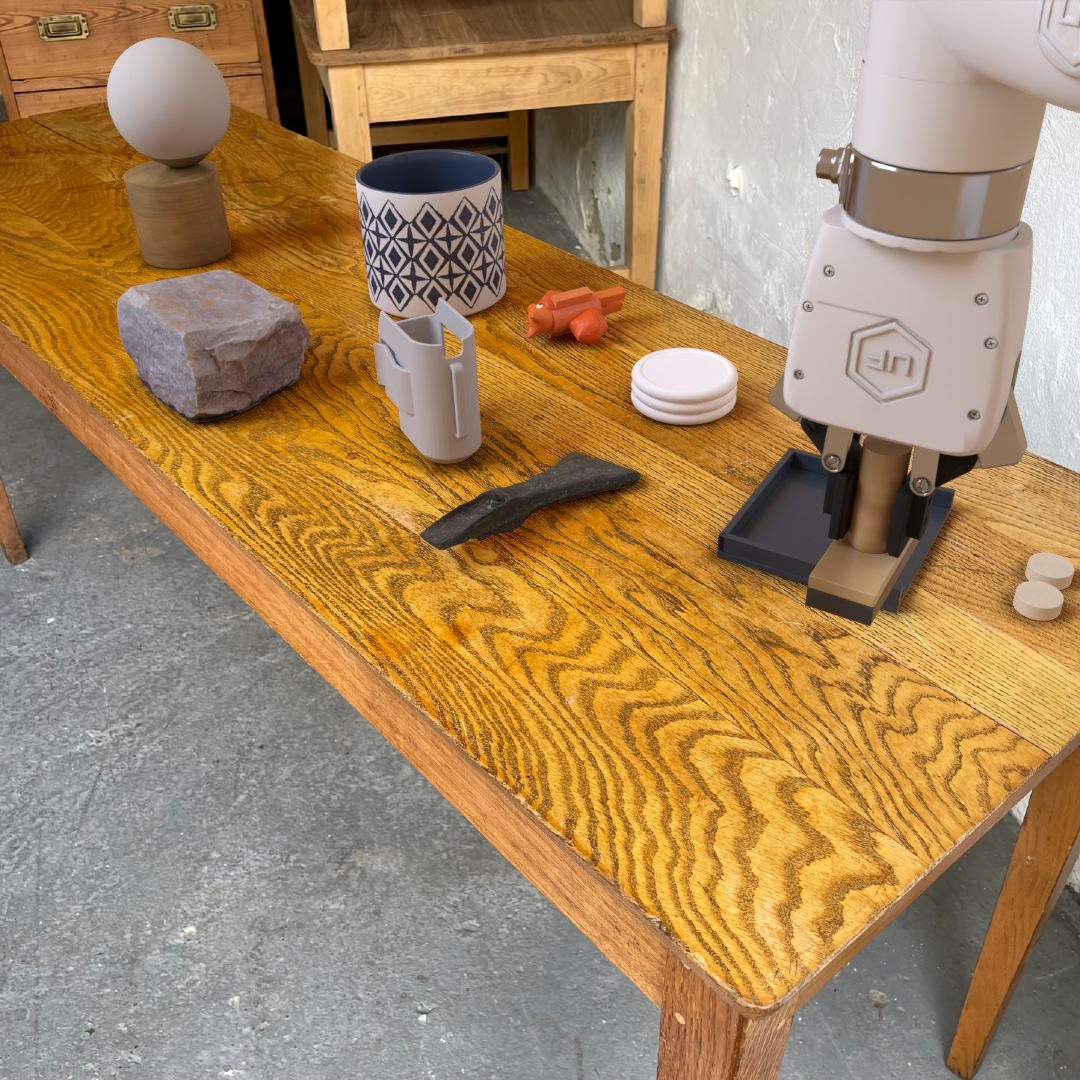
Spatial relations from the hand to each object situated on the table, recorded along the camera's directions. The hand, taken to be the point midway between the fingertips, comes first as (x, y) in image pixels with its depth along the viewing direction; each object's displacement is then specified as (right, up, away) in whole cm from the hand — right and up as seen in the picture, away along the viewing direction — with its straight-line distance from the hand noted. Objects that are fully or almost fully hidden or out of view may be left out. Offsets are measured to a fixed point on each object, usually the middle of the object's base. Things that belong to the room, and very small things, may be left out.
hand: (871, 532), depth 59 cm
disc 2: (+18, -5, +21) cm, 28 cm away
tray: (+6, 0, +29) cm, 29 cm away
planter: (-29, +28, +70) cm, 81 cm away
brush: (0, -2, +1) cm, 3 cm away
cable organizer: (-27, +9, +43) cm, 52 cm away
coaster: (-4, +13, +47) cm, 49 cm away
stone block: (-49, +16, +53) cm, 74 cm away
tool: (-19, +2, +33) cm, 38 cm away
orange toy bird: (-13, +21, +60) cm, 65 cm away
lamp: (-62, +37, +85) cm, 111 cm away
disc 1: (+20, -3, +24) cm, 31 cm away
